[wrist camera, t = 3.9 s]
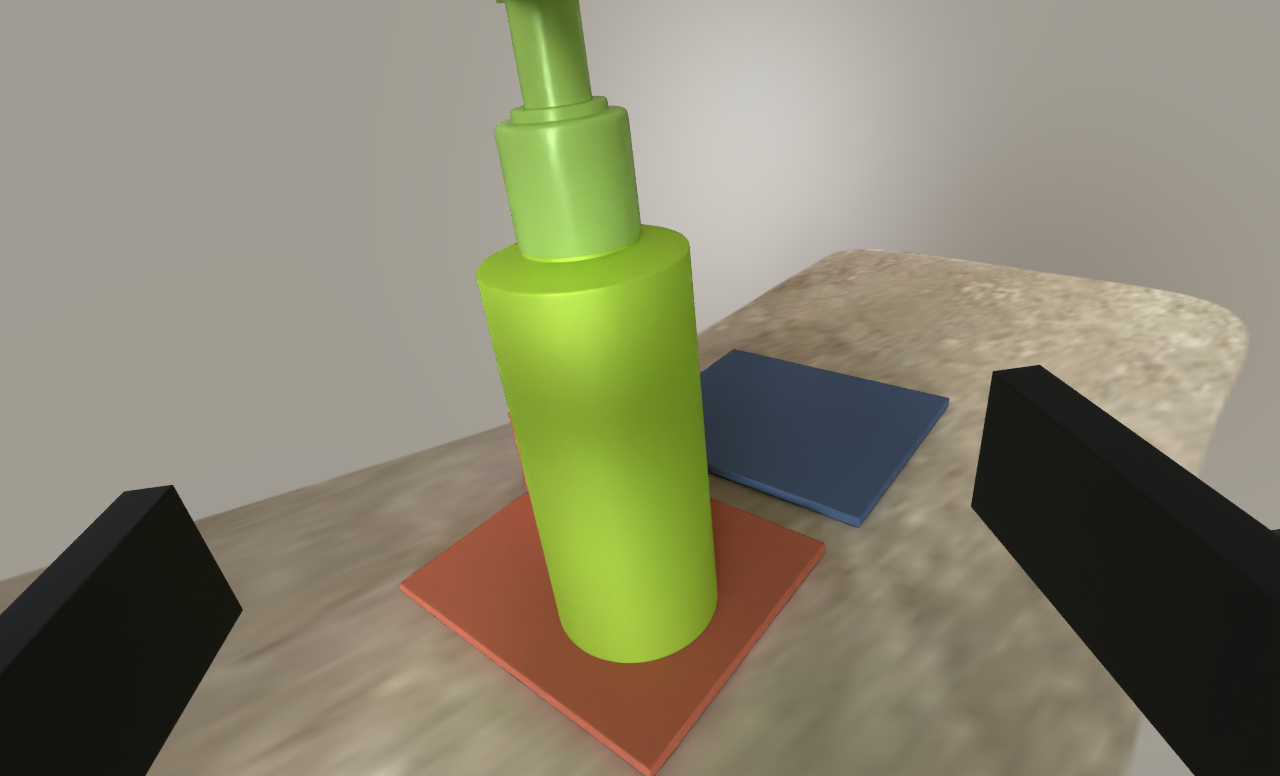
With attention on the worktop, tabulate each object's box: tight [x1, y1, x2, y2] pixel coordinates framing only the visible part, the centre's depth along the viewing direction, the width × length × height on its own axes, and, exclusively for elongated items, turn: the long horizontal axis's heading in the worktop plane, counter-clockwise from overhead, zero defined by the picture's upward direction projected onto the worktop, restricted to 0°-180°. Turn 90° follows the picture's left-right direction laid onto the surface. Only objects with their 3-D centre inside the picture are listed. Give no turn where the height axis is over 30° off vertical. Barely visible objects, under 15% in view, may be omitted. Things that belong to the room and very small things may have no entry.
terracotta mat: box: [400, 491, 825, 776], centre depth 26 cm, size 13×11×1 cm
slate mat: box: [700, 349, 949, 527], centre depth 34 cm, size 13×11×1 cm
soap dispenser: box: [476, 0, 718, 663], centre depth 19 cm, size 6×7×20 cm
